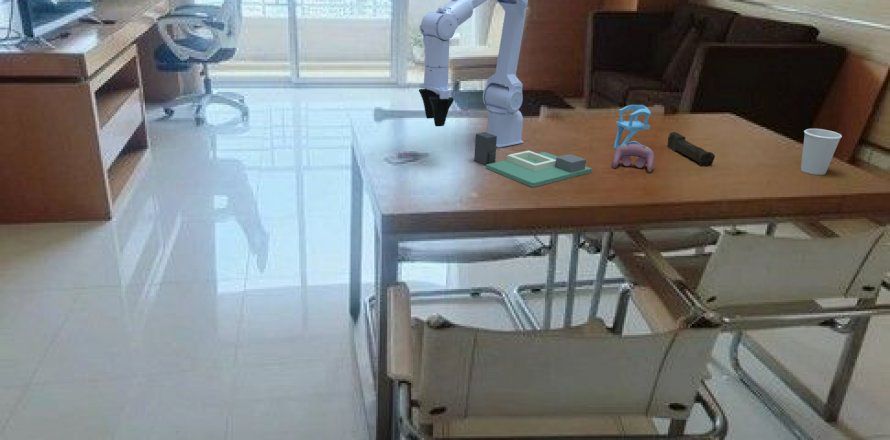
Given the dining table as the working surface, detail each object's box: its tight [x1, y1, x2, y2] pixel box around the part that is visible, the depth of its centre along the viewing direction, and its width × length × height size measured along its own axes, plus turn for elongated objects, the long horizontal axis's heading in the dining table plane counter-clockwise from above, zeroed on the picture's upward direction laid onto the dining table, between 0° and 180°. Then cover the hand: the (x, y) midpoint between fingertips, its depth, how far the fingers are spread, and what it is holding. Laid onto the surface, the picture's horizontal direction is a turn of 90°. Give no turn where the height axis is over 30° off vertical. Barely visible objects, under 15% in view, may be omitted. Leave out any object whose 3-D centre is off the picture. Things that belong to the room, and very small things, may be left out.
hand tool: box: [667, 131, 716, 167], centre depth 177 cm, size 19×4×5 cm, turn 11°
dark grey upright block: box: [473, 131, 497, 166], centre depth 165 cm, size 3×6×7 cm, turn 38°
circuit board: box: [485, 150, 593, 188], centre depth 161 cm, size 20×16×4 cm
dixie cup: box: [800, 128, 843, 176], centre depth 167 cm, size 8×8×10 cm
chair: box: [613, 104, 652, 150], centre depth 180 cm, size 8×8×12 cm
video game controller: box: [612, 144, 655, 174], centre depth 166 cm, size 10×5×7 cm, turn 71°
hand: (435, 121), depth 163 cm, fingers open, 7 cm apart
